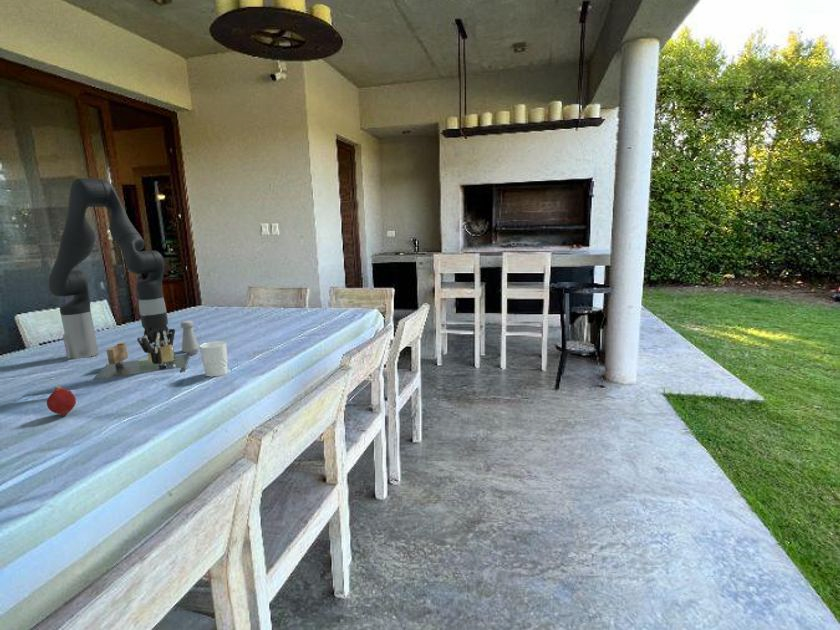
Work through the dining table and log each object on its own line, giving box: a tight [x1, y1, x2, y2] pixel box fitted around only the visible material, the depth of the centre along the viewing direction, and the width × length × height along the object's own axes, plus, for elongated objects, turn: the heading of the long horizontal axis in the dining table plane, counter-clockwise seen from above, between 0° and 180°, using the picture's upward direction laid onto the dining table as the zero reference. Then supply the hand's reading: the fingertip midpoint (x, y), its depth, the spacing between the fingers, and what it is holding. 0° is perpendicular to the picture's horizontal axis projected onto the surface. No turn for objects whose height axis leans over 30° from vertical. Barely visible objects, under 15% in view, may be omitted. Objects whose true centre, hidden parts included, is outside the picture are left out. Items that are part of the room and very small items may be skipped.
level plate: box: [91, 345, 191, 380], centre depth 152 cm, size 26×18×6 cm
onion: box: [46, 386, 77, 417], centre depth 115 cm, size 6×6×8 cm
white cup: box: [198, 340, 229, 378], centre depth 145 cm, size 8×8×10 cm
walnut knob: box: [106, 342, 129, 367], centre depth 151 cm, size 7×2×7 cm, turn 2°
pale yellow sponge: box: [147, 344, 174, 367], centre depth 149 cm, size 7×2×7 cm, turn 101°
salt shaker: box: [180, 320, 200, 356], centre depth 169 cm, size 6×6×13 cm
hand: (161, 361), depth 149 cm, fingers closed on pale yellow sponge, 3 cm apart
